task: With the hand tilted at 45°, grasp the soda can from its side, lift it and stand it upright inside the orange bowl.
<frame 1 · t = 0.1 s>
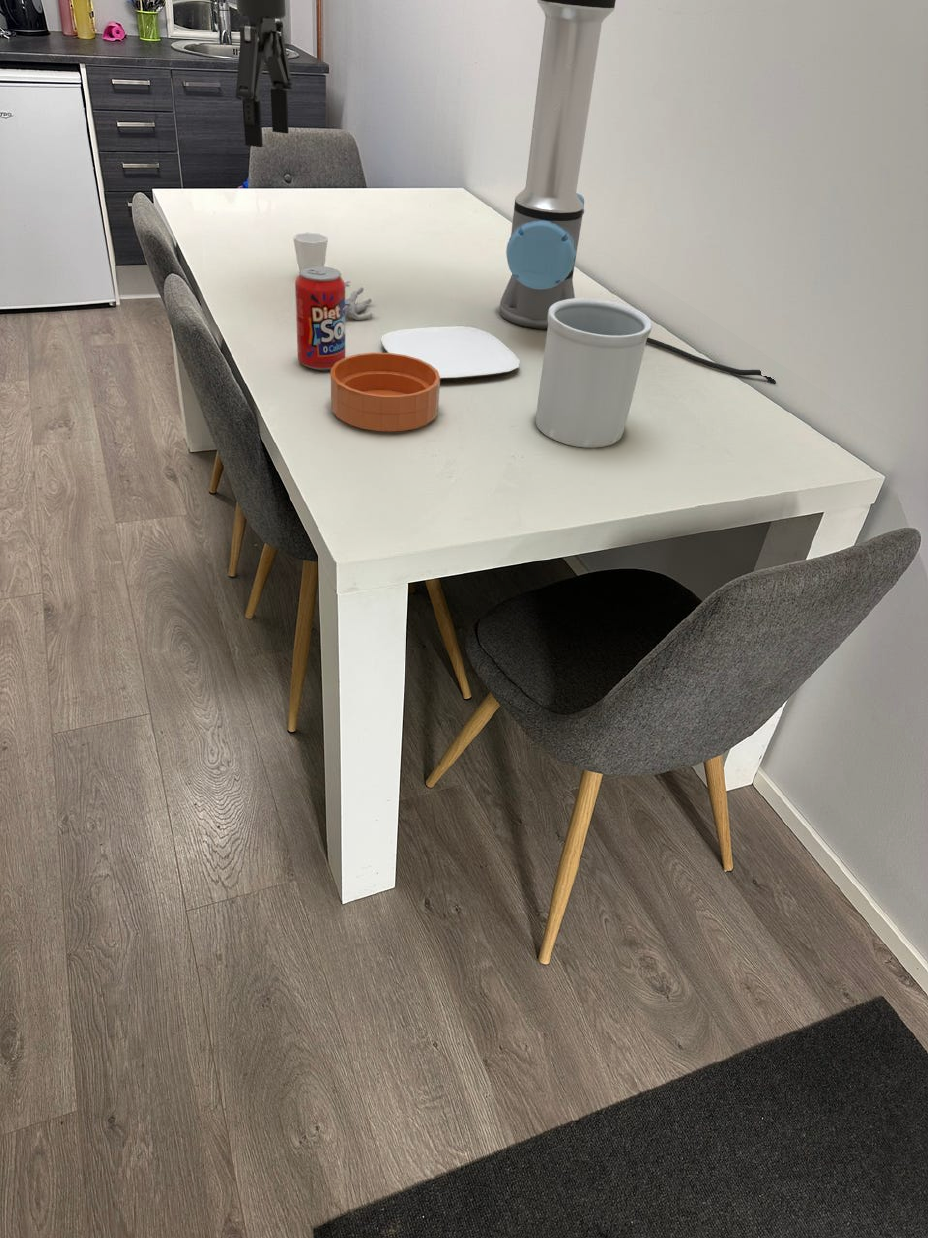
hand: (267, 139, 148), 28 cm above the table, tool pointing down, fingers open, 13 cm apart
cup: (310, 277, 180), on the table
utensil holder: (579, 429, 134), on the table
soda can: (321, 364, 145), on the table
bowl: (384, 410, 133), on the table
plate: (449, 359, 152), on the table
soldier figure: (353, 314, 165), on the table
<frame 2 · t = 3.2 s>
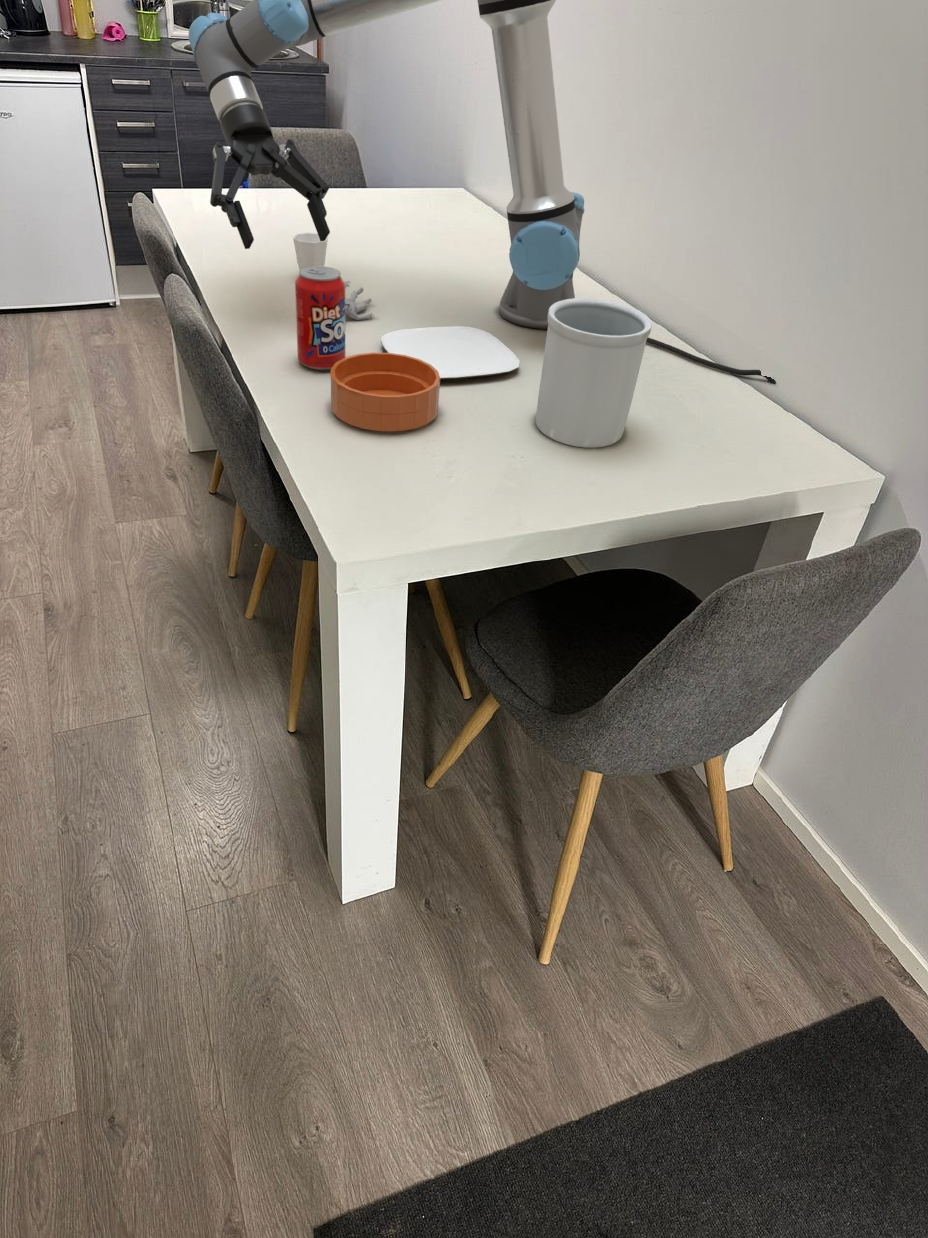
hand: (288, 240, 141), 17 cm above the table, tool tilted 45°, fingers open, 13 cm apart
nothing on the table moved.
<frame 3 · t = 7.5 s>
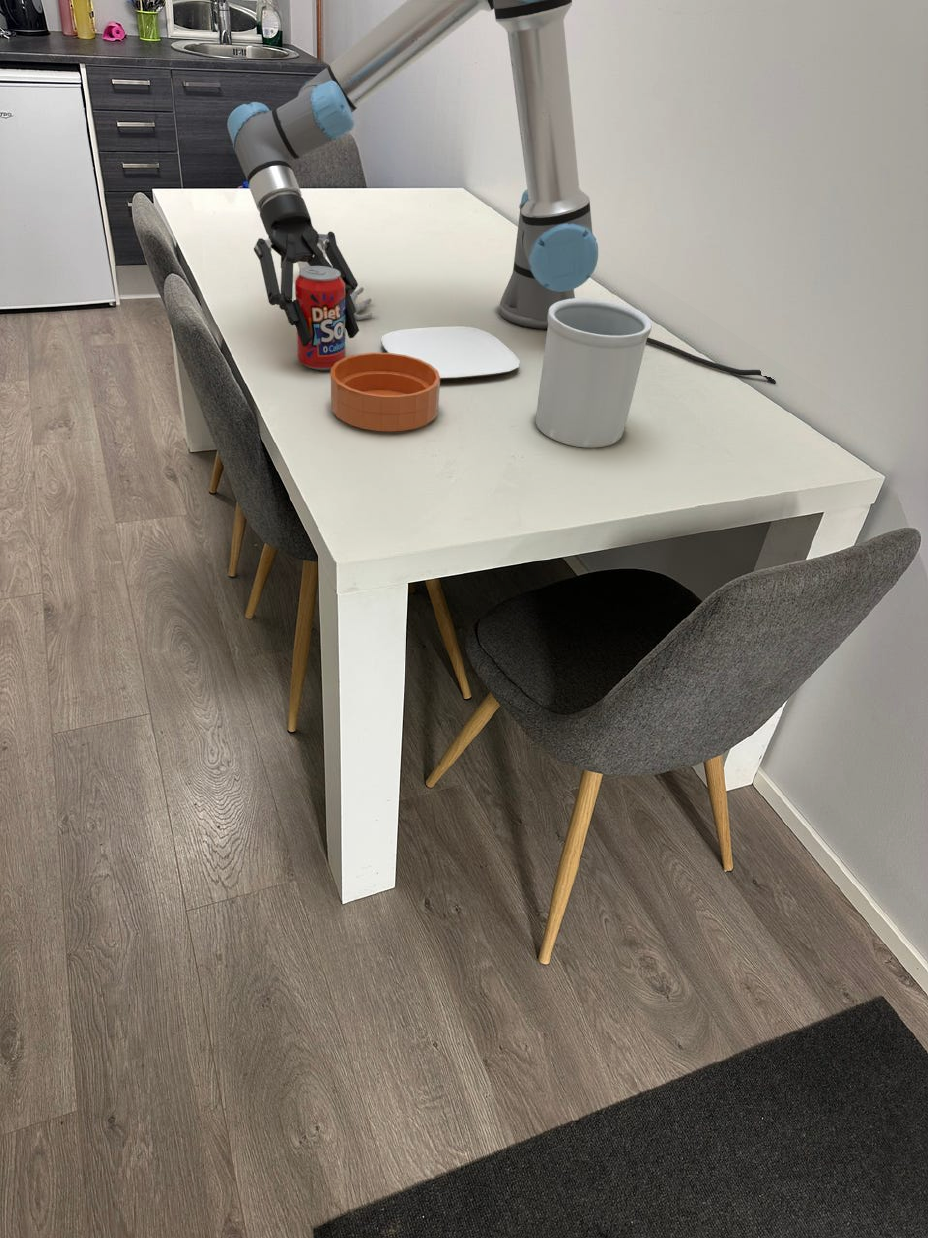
hand: (331, 338, 140), 6 cm above the table, tool tilted 45°, fingers closed on soda can, 8 cm apart
soda can: (321, 364, 145), on the table, touching gripper
everything else where it was.
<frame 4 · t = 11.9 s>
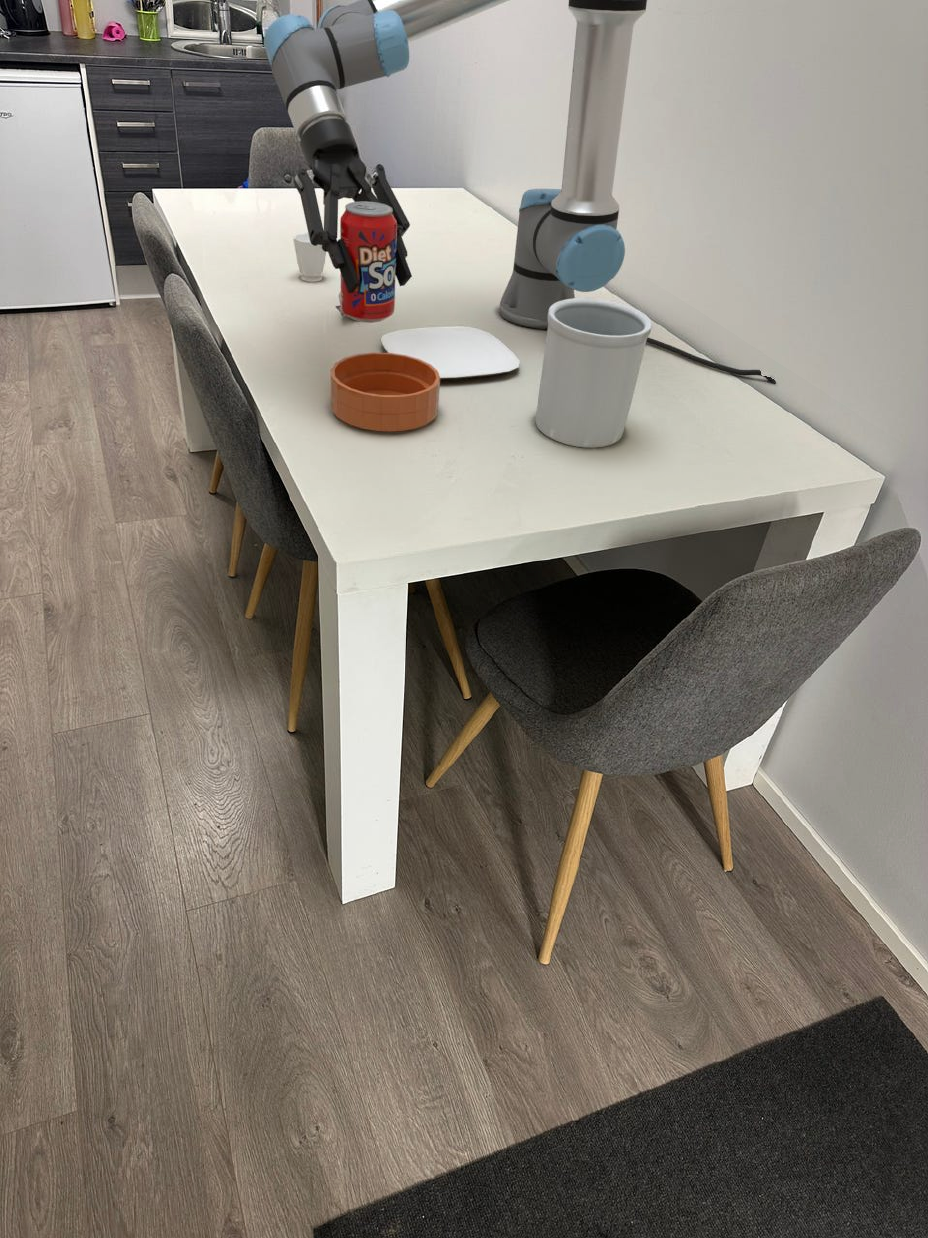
hand: (380, 284, 123), 19 cm above the table, tool tilted 45°, fingers closed on soda can, 8 cm apart
soda can: (367, 317, 128), point 13 cm above the table, touching gripper
everything else where it was.
when the fingers open (6 cm above the table, at t = 16.4 s): soda can stays where it is, resting on bowl.
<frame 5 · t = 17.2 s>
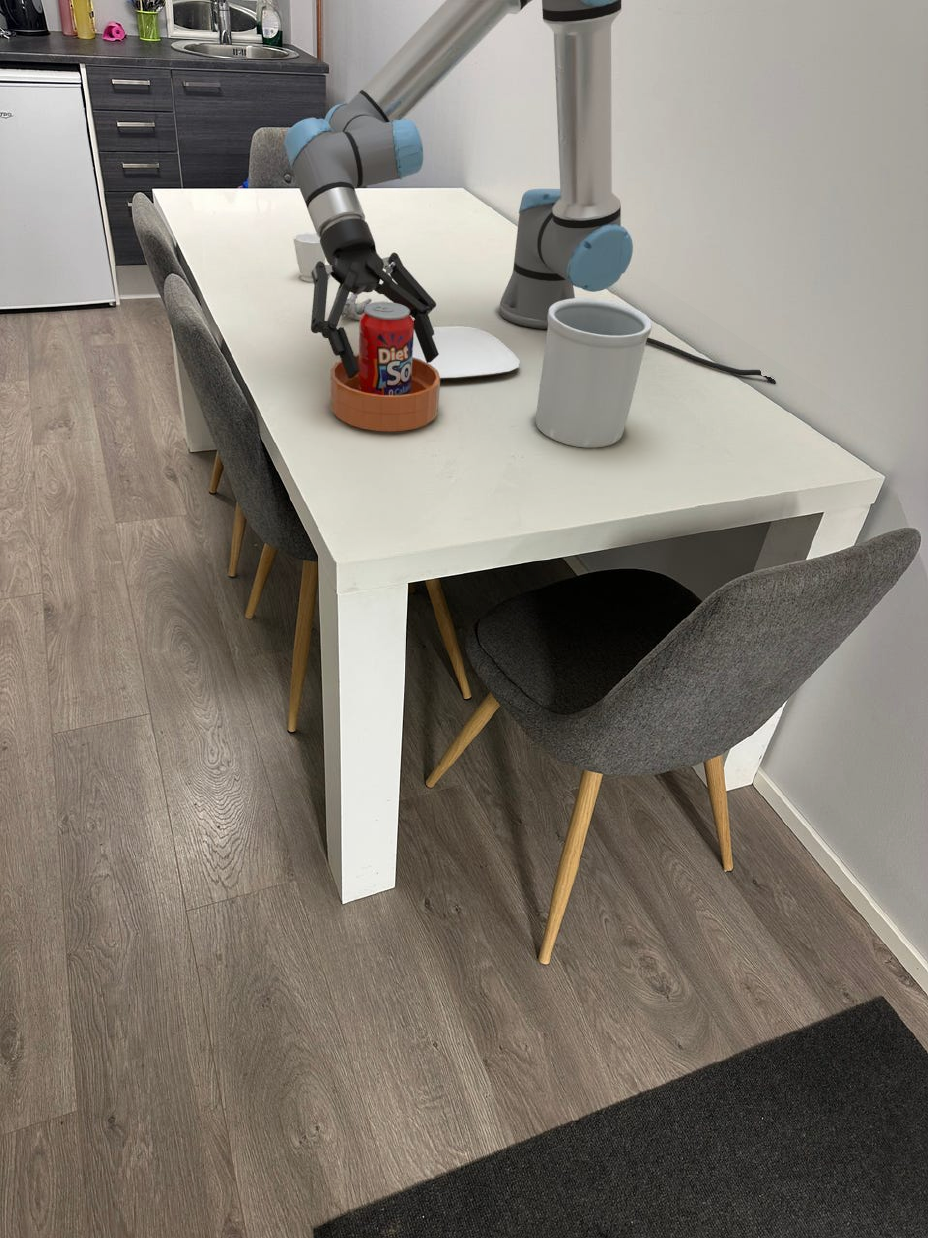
hand: (394, 366, 127), 8 cm above the table, tool tilted 45°, fingers open, 13 cm apart
soda can: (384, 408, 133), resting on bowl
everything else where it was.
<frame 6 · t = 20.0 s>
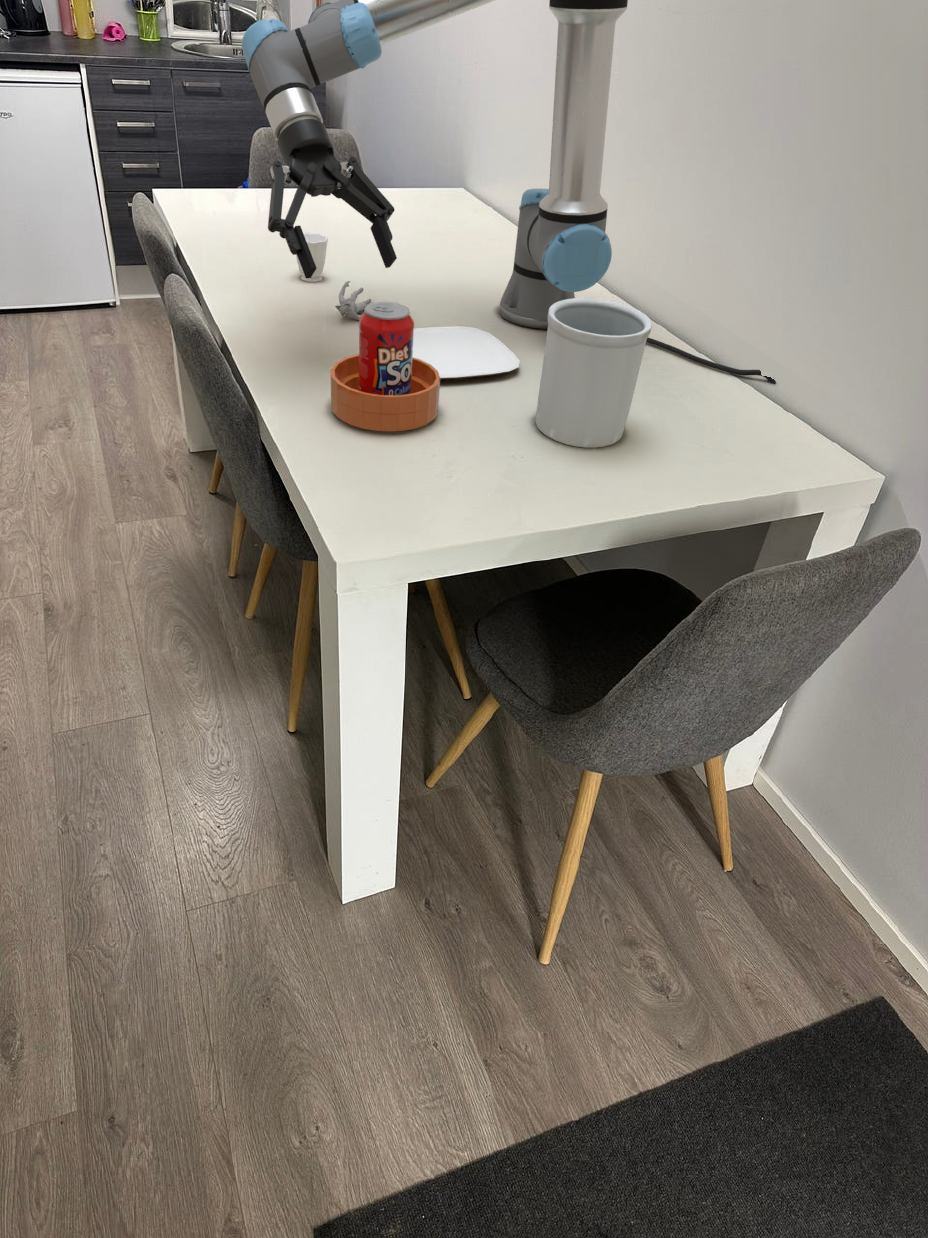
hand: (352, 268, 128), 18 cm above the table, tool tilted 45°, fingers open, 13 cm apart
nothing on the table moved.
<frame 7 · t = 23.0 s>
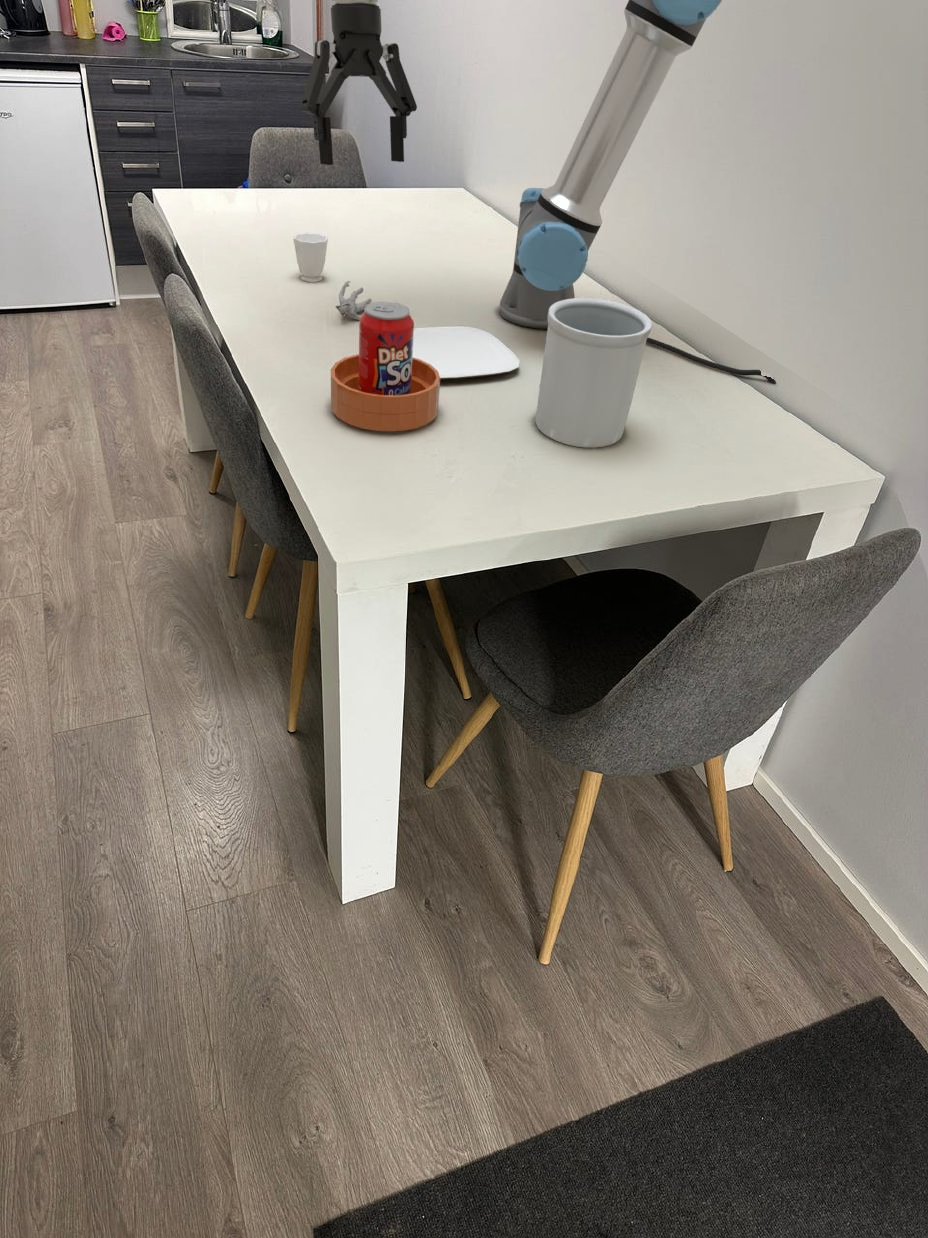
hand: (363, 162, 141), 28 cm above the table, tool pointing down, fingers open, 13 cm apart
nothing on the table moved.
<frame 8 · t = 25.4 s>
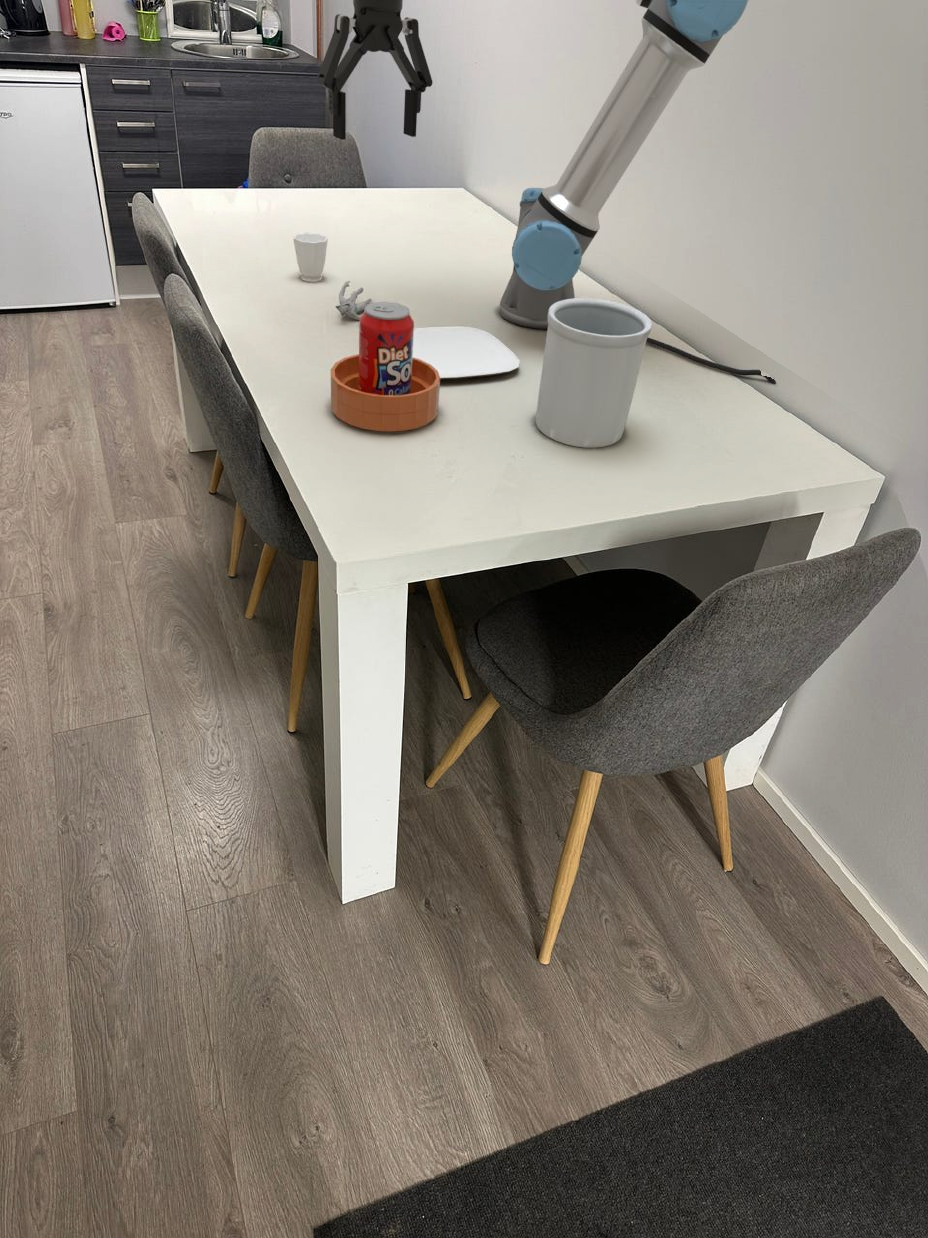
hand: (375, 136, 144), 31 cm above the table, tool pointing down, fingers open, 13 cm apart
nothing on the table moved.
at the end: soda can inside the target area in the bowl (0.1 cm from its centre), point 0.4 cm above the bowl's base; soda can tilted 0°; the gripper is holding nothing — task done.
